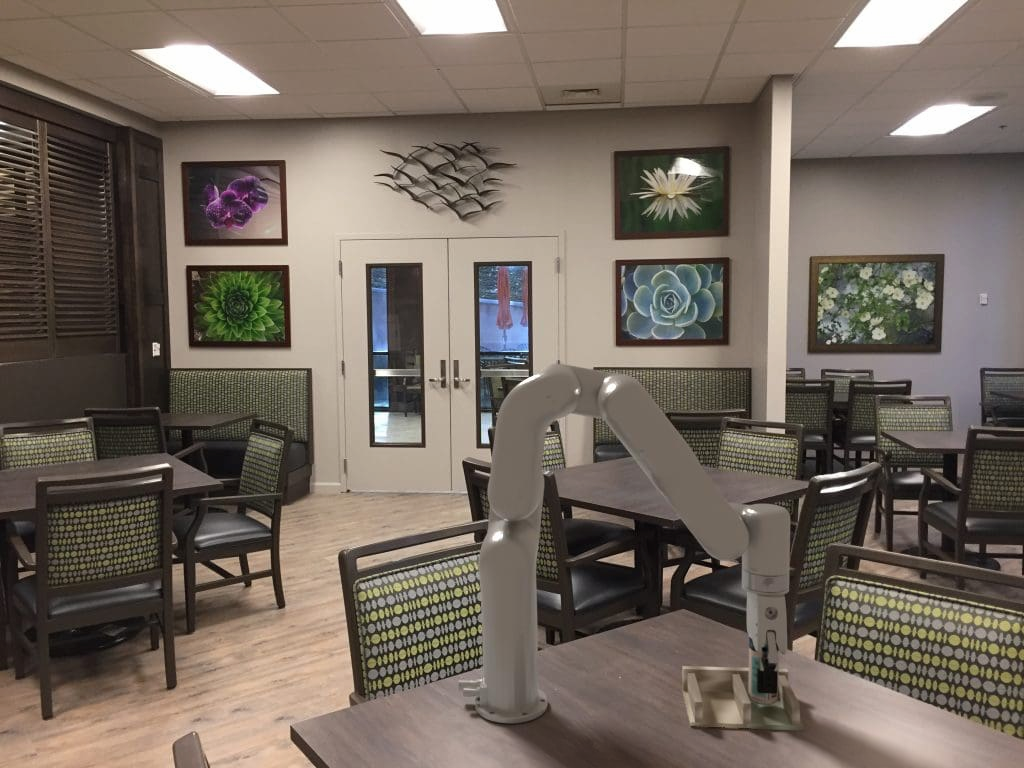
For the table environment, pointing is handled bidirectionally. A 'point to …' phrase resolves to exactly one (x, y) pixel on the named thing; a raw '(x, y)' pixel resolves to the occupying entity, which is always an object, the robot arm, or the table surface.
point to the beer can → (753, 665)
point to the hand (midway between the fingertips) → (763, 683)
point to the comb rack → (736, 700)
